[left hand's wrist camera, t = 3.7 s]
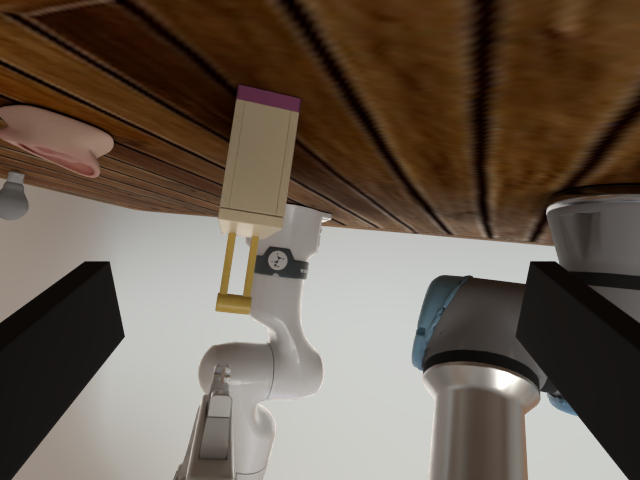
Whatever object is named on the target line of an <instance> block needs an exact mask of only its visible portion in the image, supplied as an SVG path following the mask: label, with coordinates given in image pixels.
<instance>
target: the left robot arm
mask: <svg viewBox="0 0 640 480" xmlns="http://www.w3.org/2000/svg"><path fill="white" fill-rule="evenodd" d="M546 215H547V220H548V223H549V227H550V231H551V234H552V238H553V241H554V245H555V248H556V252H557V256H558V259H559V264H558V263H556V262H554V261H548V262H547V261H545V262H544V261H531V262H530V266H529V271H528V276H527V281H526V284H520V283H512V282H504V281H496V280H488V279H480V278H473V276H464V277H461V276H449V275H443V276H439V277H437V278H435V279H434V280H433V281H432V282H431V284H430V285H429V287H428V290H427V293H426V295H425V298H424V302H423V305H422V309H421V313H420V316H419V321H418V329H417V331H416V336H415V339H414V344H413V351H412V364H413V365H414V367H417V368H418V369H419V370H422V371H423V378H422V382H423V385H424V387H425V389H426V390H427V391H428V392H429V394H430V395H431V396H432V397H433V398H434V400H435V405H434V416H433V427H432V439H431V450H430V462H429V473H428V480H528V473H527V454H526V435H525V416H524V415H525V414H526V413H527V412H529V411H530V410H531V409H532V408H534V407H535V406H536V405H537V404H538V403H539V401H540V391H542V392H547V396H548V398H549V401H550V403H551V404H552V405H553V406H554V407H556V408H557V409H559V410H561V411H564V412H566V413H569V414H572V415H576V416H579V418H580V419H581V420H582V421H583V423H584V424H585V425H586V426H587V428H588V429H589V430H590V432H591V433H592V434H593V435H594V437H595V438H596V439H597V440H598V442H599V443H600V444H601V445H602V447H603V448H604V449H605V450H606V452H607V453H608V454H609V455H610V457H611V458H612V459H613V460H614V462H615V463H616V464H617V466H618V467H619V468H620V469H621V471H622V472H623V473H624V474H625V476H626V477H627V478H628V479H629V480H640V185H616V186H600V187H590V188H582V189H575V190H570V191H565V192H562V193H558V194H556V195H553V196H551V197H550V198H549V199H548V201H547V212H546ZM124 337H125V335H124V330H123V326H122V321H121V316H120V311H119V306H118V301H117V296H116V291H115V286H114V281H113V276H112V271H111V267H110V262H108V261H101V262H100V261H99V262H98V261H96V262H95V261H93V262H92V261H88V262H87V261H85V262H84V263H82V264H81V265H79V266H78V267H77V268H75V269H74V270H73V271H71V272H70V273H68V274H67V275H66V276H64V277H63V278H62V279H60V280H59V281H57V282H56V283H55V284H53V285H52V286H51V287H49V288H48V289H46V290H45V291H44V292H42V293H41V294H39V295H38V296H37V297H35V298H34V299H33V300H31V301H30V302H28V303H27V304H26V305H24V306H23V307H22V308H20V309H19V310H17V311H16V312H15V313H13V314H12V315H11V316H9V317H8V318H6V319H5V320H4V321H2V322H1V323H0V480H11V479H12V478H13V477H14V476H15V474H16V473H17V472H18V471H19V469H20V468H21V467H22V465H23V464H24V463H25V462H26V460H27V459H28V458H29V457H30V455H31V454H32V453H33V452H34V450H35V449H36V448H37V447H38V445H39V444H40V443H41V441H42V440H43V439H44V438H45V437H46V435H47V434H48V433H49V431H50V430H51V429H52V428H53V426H54V425H55V424H56V423H57V421H58V420H59V419H60V418H61V416H62V415H63V414H64V413H65V411H66V410H67V409H68V408H69V406H70V405H71V404H72V403H73V401H74V400H75V399H76V397H77V396H78V395H79V394H80V392H81V391H82V390H83V389H84V387H85V386H86V385H87V384H88V382H89V381H90V380H91V379H92V377H93V376H94V375H95V374H96V372H97V371H98V370H99V368H100V367H101V366H102V365H103V364H104V362H105V361H106V360H107V358H108V357H109V356H110V355H111V353H112V352H113V351H114V350H115V348H116V347H117V346H118V345H119V343H120V342H121V341H122V340H123V338H124Z"/></svg>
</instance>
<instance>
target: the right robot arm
mask: <svg viewBox="0 0 640 480" xmlns="http://www.w3.org/2000/svg"><path fill="white" fill-rule="evenodd" d="M283 218H284V222H283V228H282V229H281V230H279V231H277V232H276V233H274V234H272V235H271V236H269V237H267V238H265V239H259V241H258V248H257V255H256V262H255V269H254V275H253V282H252V289H251V296H250V297H252V301H251V309H250V314H249V315H250V317H251V318H252V319H253V320H255V321H256V322H257V323H259V324H260V325H262V326H263V327H265V328H267V329H268V332H269V341H268V343H250V342H231V343H224V344H218V345H213V346H211V347H210V348H209V349H208V350H207V351H206V352H205V354H204V355H203V357H202V359H201V361H200V364H199V368H198V380H199V384H200V387H201V388H202V390H203V392H204V393H205V395H204V396H203V397H202V399H201V402H200V405H199V408H198V412H197V415H196V419H195V423H194V427H193V430H192V434H191V438H190V442H189V445H188V449H187V452H186V456H185V458H184V461H183V464H180V465H179V467H178V470H177V471H176V474H175V477H174V479H173V480H263V477H264V475H265V472H266V469H267V466H268V462H269V458H270V455H271V451H272V447H273V443H274V440H275V436H276V431H277V428H276V421H275V419H274V417H273V415H272V414H271V413H270V412H269V411H268V410H267V409H266V408H265V407H264V406H262V405H260V404H259V402H260V401H264V400H295V399H300V398H304V397H308V396H311V395H314V394H316V393H317V392H318V390H319V389H320V387H321V385H322V383H323V380H324V374H325V369H324V363H323V360H322V358H321V356H320V354H319V353H318V352H317V351H316V350H315V349H314V348H313V347H312V346H311V344H310V343H309V341H308V340H307V338H306V335H305V333H304V330H303V326H302V320H301V305H302V294H303V285H304V279H306V278H307V273H308V265H309V263H308V260H309V258H310V257H311V256H313V255H314V254H315V253H317V250H318V247H319V241H320V233H321V225H322V222H325V221H328V220H330V219H331V218H332V214H328V213H324V212H320V211H317V210H314V209H311V208H307V207H302V206H297V205H291V204H286V208H285V215H284V217H283ZM251 239H252V238H250V237H246V243H247V244H248V246H249V247H250V245H251Z"/></svg>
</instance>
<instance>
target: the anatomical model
mask: <svg viewBox="0 0 640 480" xmlns="http://www.w3.org/2000/svg"><path fill="white" fill-rule="evenodd" d="M0 117H1V118H2V119H3V120H4V121H5V122H6V123H7V125H8V126H7V127H5V128H3V129H1V130H0V138H1V139H3V140H4V141H6V142H9V143H11V144H13V145H15V146H17V147H19V148H22V149H24V150H26V151H28V152H30V153H32V154H34V155H36V156H38V157H40V158H43V159H45V160H47V161H50V162H52V163H54V164H57V165H59V166H61V167H63V168H66V169H68V170H71V171H73V172H75V173H78V174H81V175H83V176H87V177H92V178H94V177H97V176H99V174H100V166H99V163H98V162H97V158H98V157H100V156H102V155H104V154H106V153H108V152H109V151H110V150H111V149H112V148H113V145H114V142H113V139H112V137H111V136H110V135H109V134H107V133H106V132H104V131H102V130H100V129H98V128H95V127H93V126H91V125H88V124H85V123H83V122H80V121H78V120H75V119H72V118H69V117H66V116H63V115H61V114H58V113H55V112H51V111H48V110H45V109H41V108H38V107H34V106H28V105H11V106H4V107H0Z"/></svg>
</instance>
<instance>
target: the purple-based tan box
mask: <svg viewBox="0 0 640 480" xmlns="http://www.w3.org/2000/svg"><path fill="white" fill-rule="evenodd" d="M300 104H301V99H300V98H296V97H292V96H287V95H283V94H278V93H274V92H270V91H265V90H261V89H257V88H252V87H248V86H243V85H238V91H237V97H236V105H235V111H234V118H233V124H232V131H231V137H230V143H229V150H228V156H227V163H226V169H225V176H224V182H223V188H222V195H221V201H220V208H227V209H233V210H239V211H245V212H252V213H258V214H264V215H270V216H277V217H284V215H285V208H286V201H287V194H288V187H289V180H290V173H291V166H292V159H293V152H294V144H295V137H296V130H297V123H298V116H299V111H300Z"/></svg>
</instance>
